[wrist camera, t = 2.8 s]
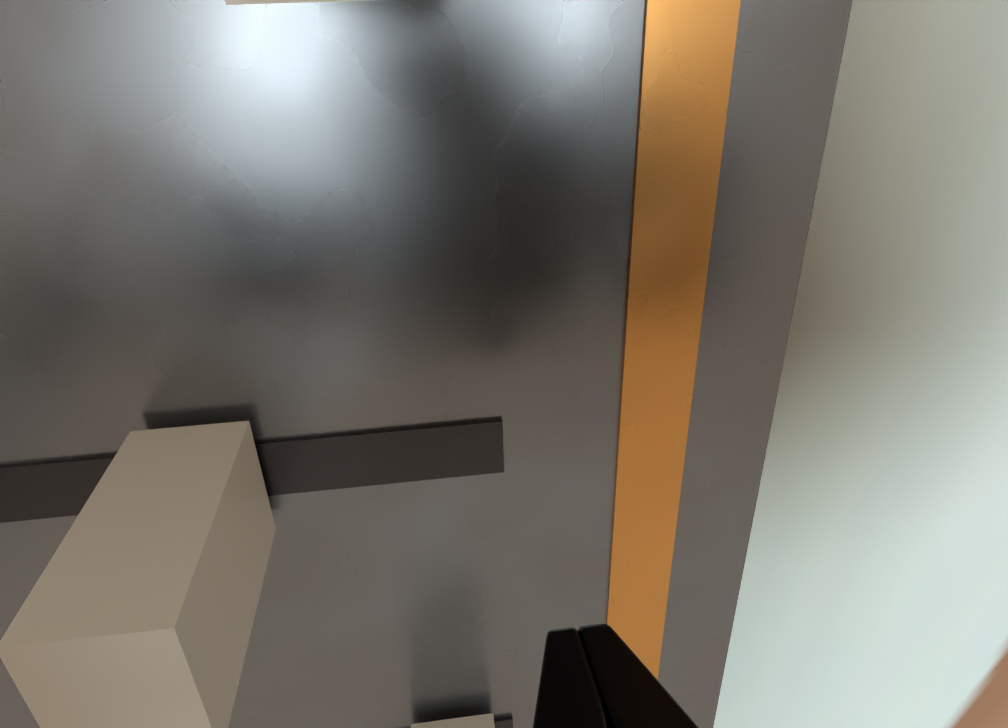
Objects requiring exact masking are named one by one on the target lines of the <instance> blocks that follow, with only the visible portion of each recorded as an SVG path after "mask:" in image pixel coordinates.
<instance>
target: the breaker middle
mask: <svg viewBox="0 0 1008 728" xmlns="http://www.w3.org/2000/svg"><path fill="white" fill-rule="evenodd" d="M275 530H276V528H275V524H274V520H273V515H272V511H271V507H270V503H269V499H268V495H267V491H266V487H265V483H264V479H263V475H262V471H261V467H260V463H259V459H258V455H257V451H256V447H255V443H254V439H253V435H252V430H251V426H250V422H249V421H239V422H228V423H217V424H206V425H195V426H184V427H173V428H162V429H151V430H139V431H130V433H129V434H128V436H127V437H126V439H125V441H124V442H123V444H122V445H121V447H120V449H119V450H118V452H117V453H116V455H115V457H114V458H113V460H112V462H111V463H110V465H109V466H108V468H107V470H106V471H105V473H104V474H103V476H102V478H101V479H100V481H99V482H98V484H97V486H96V487H95V489H94V491H93V492H92V494H91V495H90V497H89V499H88V500H87V502H86V503H85V505H84V507H83V508H82V510H81V511H80V513H79V515H78V516H77V518H76V520H75V521H74V523H73V524H72V526H71V528H70V529H69V531H68V532H67V534H66V536H65V537H64V539H63V540H62V542H61V544H60V545H59V547H58V549H57V550H56V552H55V553H54V555H53V557H52V558H51V560H50V561H49V563H48V565H47V566H46V568H45V569H44V571H43V573H42V574H41V576H40V578H39V579H38V581H37V582H36V584H35V586H34V587H33V589H32V590H31V592H30V594H29V595H28V597H27V598H26V600H25V602H24V603H23V605H22V607H21V608H20V610H19V611H18V613H17V615H16V616H15V618H14V619H13V621H12V623H11V624H10V626H9V627H8V629H7V631H6V632H5V634H4V636H3V637H2V639H1V640H0V658H1V660H2V662H3V664H4V665H5V667H6V669H7V671H8V672H9V674H10V676H11V678H12V679H13V681H14V683H15V685H16V686H17V688H18V690H19V692H20V694H21V695H22V697H23V699H24V701H25V702H26V704H27V706H28V708H29V709H30V711H31V713H32V715H33V716H34V718H35V720H36V722H37V723H38V725H39V727H40V728H228V726H229V722H230V718H231V714H232V710H233V706H234V701H235V697H236V693H237V689H238V685H239V680H240V676H241V672H242V668H243V664H244V660H245V655H246V651H247V647H248V643H249V639H250V634H251V630H252V626H253V622H254V618H255V614H256V609H257V605H258V601H259V597H260V593H261V588H262V584H263V580H264V576H265V572H266V567H267V563H268V559H269V555H270V551H271V547H272V542H273V538H274V534H275Z"/></svg>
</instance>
